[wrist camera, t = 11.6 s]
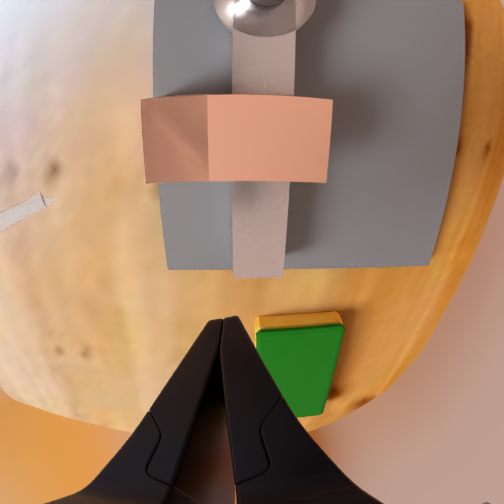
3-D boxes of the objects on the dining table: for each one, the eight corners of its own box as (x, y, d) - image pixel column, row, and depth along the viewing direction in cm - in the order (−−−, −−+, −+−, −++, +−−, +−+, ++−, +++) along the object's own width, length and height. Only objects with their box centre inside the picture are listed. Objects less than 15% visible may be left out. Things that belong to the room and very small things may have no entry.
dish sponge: (338, 307, 26) (346, 326, 24) (318, 398, 33) (322, 415, 31) (254, 313, 26) (256, 333, 23) (256, 403, 32) (257, 421, 30)
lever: (216, -32, 12) (213, -53, 9) (306, -28, 12) (320, -47, 9) (218, 259, 21) (215, 288, 18) (293, 258, 21) (302, 286, 18)
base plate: (161, -39, 12) (158, -44, 11) (455, 4, 13) (463, 2, 12) (170, 262, 22) (168, 269, 21) (423, 259, 23) (428, 265, 22)
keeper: (161, 96, 16) (140, 99, 12) (311, 96, 16) (332, 99, 12) (164, 162, 18) (146, 183, 14) (307, 162, 18) (326, 182, 14)
